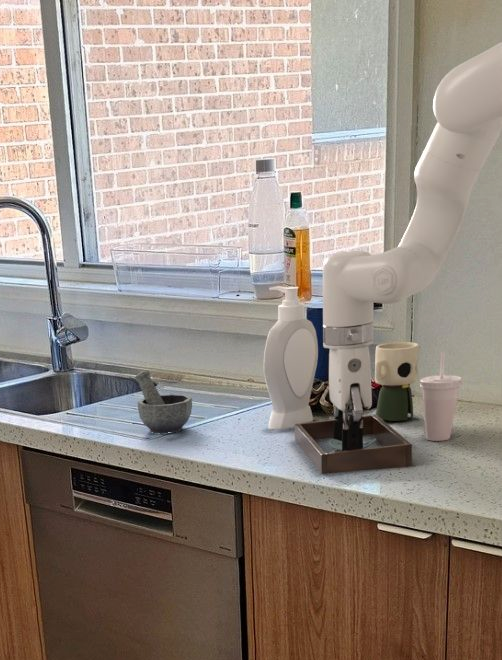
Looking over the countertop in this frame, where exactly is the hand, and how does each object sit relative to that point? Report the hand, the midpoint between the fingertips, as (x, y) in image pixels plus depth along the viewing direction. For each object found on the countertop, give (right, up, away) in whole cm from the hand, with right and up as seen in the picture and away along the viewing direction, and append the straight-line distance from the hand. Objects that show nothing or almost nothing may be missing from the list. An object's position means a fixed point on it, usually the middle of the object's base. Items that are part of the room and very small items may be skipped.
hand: (347, 447), depth 198 cm
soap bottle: (-4, +8, +24) cm, 25 cm away
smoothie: (+16, +2, +2) cm, 16 cm away
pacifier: (0, -2, 0) cm, 2 cm away
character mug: (+14, +8, +17) cm, 23 cm away
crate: (0, -1, 0) cm, 1 cm away
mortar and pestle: (-25, +7, +29) cm, 39 cm away
